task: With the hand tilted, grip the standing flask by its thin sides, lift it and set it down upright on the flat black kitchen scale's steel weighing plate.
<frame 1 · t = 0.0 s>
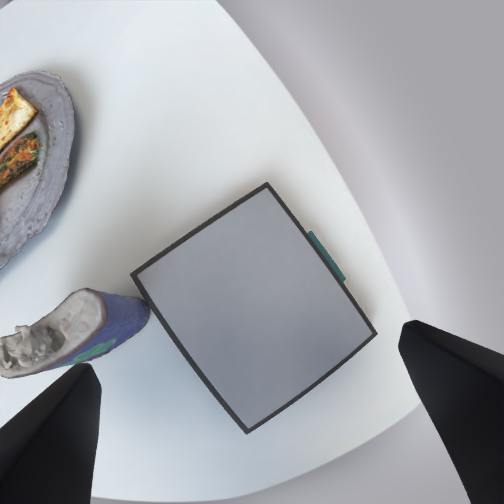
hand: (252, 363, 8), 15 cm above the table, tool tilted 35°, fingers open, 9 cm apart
scale: (255, 308, 22), on the table
flask: (102, 334, 21), on the table
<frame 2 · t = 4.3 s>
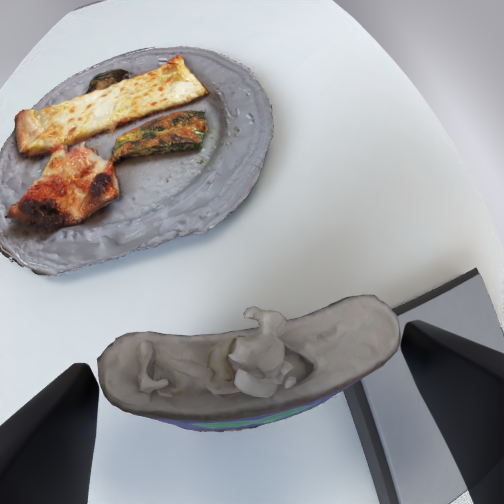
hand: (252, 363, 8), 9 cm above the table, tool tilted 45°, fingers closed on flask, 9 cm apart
food plate: (116, 143, 23), on the table
scale: (439, 400, 15), on the table
flask: (251, 401, 15), on the table, touching gripper
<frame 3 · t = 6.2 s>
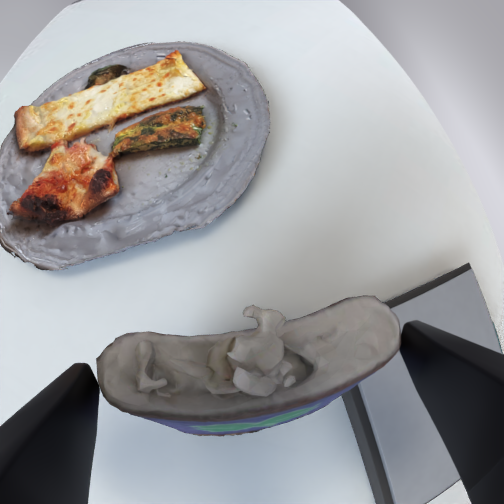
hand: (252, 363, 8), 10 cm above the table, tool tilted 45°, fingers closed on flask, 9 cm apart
food plate: (115, 139, 23), on the table
scale: (431, 392, 16), on the table
flask: (252, 405, 15), point 1 cm above the table, touching gripper
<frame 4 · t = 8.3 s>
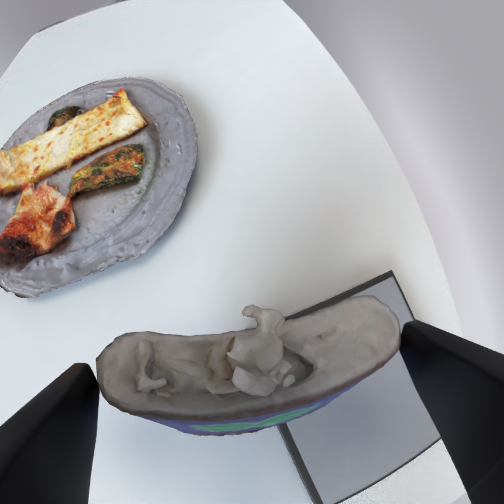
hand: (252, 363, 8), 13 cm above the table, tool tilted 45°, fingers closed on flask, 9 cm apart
food plate: (73, 178, 25), on the table
scale: (355, 392, 19), on the table
flask: (251, 405, 15), point 5 cm above the table, touching gripper
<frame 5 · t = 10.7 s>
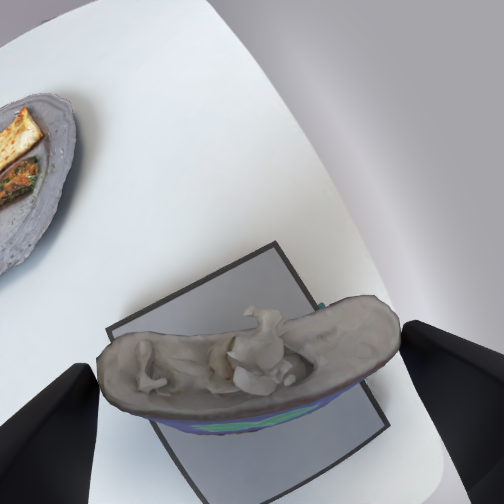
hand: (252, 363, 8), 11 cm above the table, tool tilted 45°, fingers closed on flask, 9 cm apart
scale: (247, 387, 18), on the table
flask: (252, 405, 15), point 2 cm above the table, touching gripper, scale
when the fingers open (11 cm above the table, at t = 12.8 s): flask stays where it is, resting on scale.
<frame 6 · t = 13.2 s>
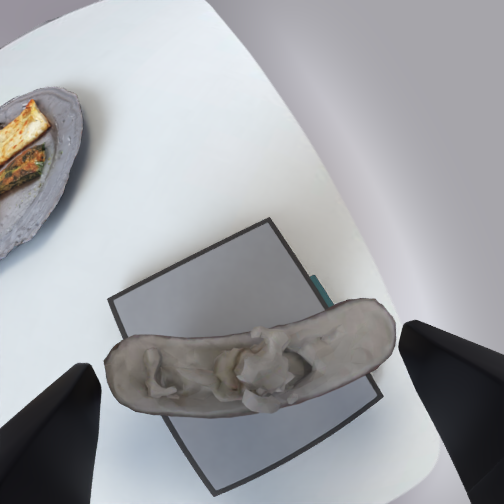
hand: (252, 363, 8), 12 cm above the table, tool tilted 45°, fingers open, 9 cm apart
scale: (242, 357, 19), on the table
flask: (246, 370, 16), point 2 cm above the table, touching gripper, scale
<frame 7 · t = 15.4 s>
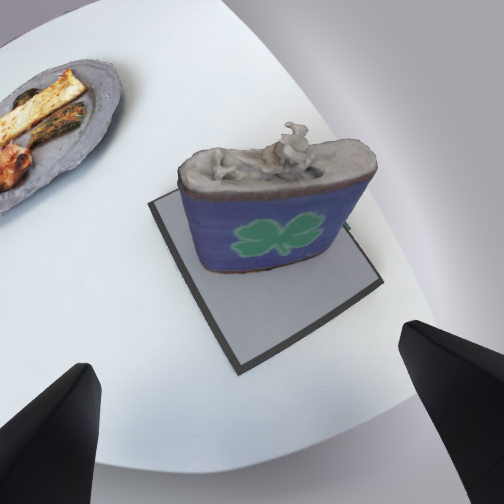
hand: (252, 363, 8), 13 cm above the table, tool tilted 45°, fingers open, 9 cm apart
food plate: (32, 137, 28), on the table
scale: (261, 251, 23), on the table
flask: (266, 250, 21), point 2 cm above the table, touching scale
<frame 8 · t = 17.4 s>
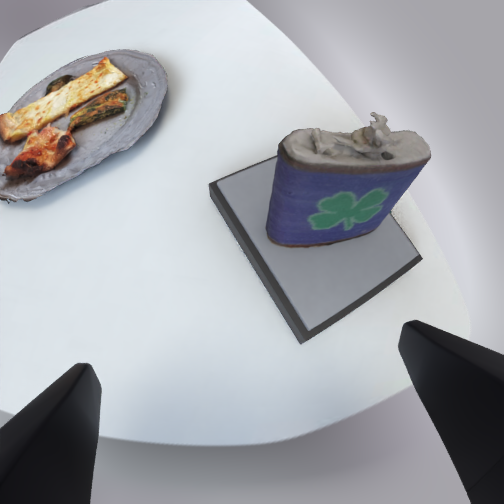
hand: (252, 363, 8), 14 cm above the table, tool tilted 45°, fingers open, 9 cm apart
food plate: (70, 122, 30), on the table
scale: (315, 230, 25), on the table
flask: (325, 228, 22), point 2 cm above the table, touching scale
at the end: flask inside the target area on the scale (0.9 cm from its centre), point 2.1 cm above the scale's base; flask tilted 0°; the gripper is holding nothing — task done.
